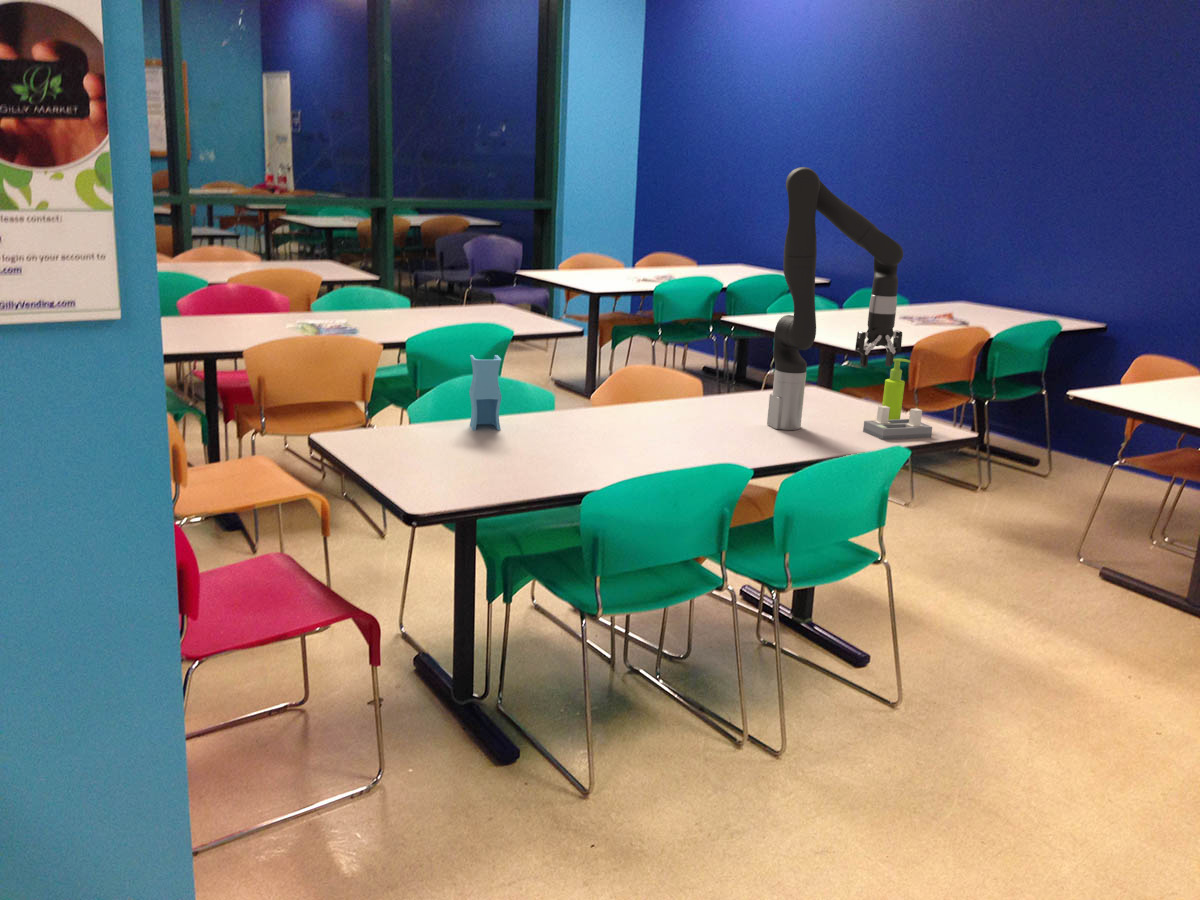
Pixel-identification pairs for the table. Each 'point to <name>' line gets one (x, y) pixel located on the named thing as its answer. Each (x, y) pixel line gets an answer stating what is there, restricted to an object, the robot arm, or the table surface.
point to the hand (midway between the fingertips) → (876, 366)
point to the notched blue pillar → (485, 392)
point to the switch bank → (896, 430)
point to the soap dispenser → (894, 390)
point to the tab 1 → (882, 415)
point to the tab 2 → (915, 418)
